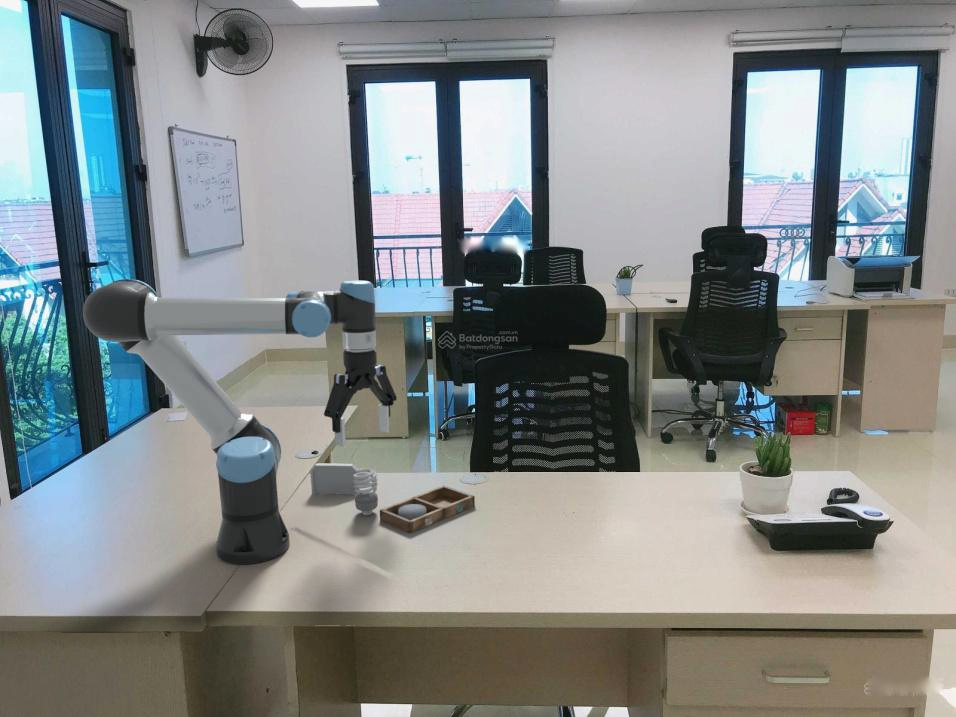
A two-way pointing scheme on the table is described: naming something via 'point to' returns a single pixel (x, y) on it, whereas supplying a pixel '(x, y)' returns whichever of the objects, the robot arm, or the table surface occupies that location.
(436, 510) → the organizer
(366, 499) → the light bulb
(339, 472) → the grey plastic panel
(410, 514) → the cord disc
